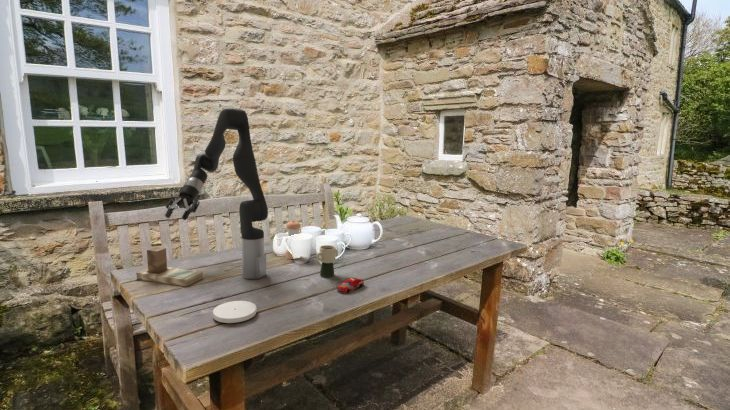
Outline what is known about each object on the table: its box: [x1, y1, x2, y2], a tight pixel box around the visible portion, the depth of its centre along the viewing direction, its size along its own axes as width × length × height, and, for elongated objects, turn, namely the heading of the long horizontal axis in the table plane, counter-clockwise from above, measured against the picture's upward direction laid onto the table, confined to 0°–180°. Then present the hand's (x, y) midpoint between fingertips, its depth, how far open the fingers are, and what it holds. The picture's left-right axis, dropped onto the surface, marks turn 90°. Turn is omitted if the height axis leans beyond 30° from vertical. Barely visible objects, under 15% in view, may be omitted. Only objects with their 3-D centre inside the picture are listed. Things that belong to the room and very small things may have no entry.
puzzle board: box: [135, 266, 204, 287], centre depth 164 cm, size 24×10×3 cm, turn 75°
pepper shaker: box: [285, 219, 301, 260], centre depth 197 cm, size 7×7×19 cm
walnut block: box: [146, 246, 168, 274], centre depth 164 cm, size 5×5×12 cm
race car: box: [337, 277, 364, 294], centre depth 160 cm, size 13×5×4 cm, turn 140°
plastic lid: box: [212, 300, 257, 324], centre depth 133 cm, size 14×14×2 cm
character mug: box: [316, 244, 339, 277], centre depth 173 cm, size 11×7×13 cm, turn 131°
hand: (175, 218), depth 172 cm, fingers open, 8 cm apart
